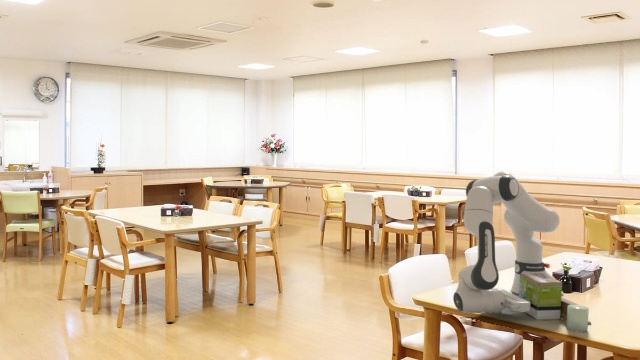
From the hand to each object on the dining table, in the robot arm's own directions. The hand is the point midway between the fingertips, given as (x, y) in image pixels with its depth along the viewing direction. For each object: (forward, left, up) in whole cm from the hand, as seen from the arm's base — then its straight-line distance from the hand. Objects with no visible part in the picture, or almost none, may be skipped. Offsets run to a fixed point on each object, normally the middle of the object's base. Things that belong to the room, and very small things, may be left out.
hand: (527, 299), depth 227 cm
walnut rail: (-14, +3, -6) cm, 15 cm away
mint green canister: (-8, +19, -6) cm, 21 cm away
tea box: (-5, 0, -6) cm, 8 cm away
